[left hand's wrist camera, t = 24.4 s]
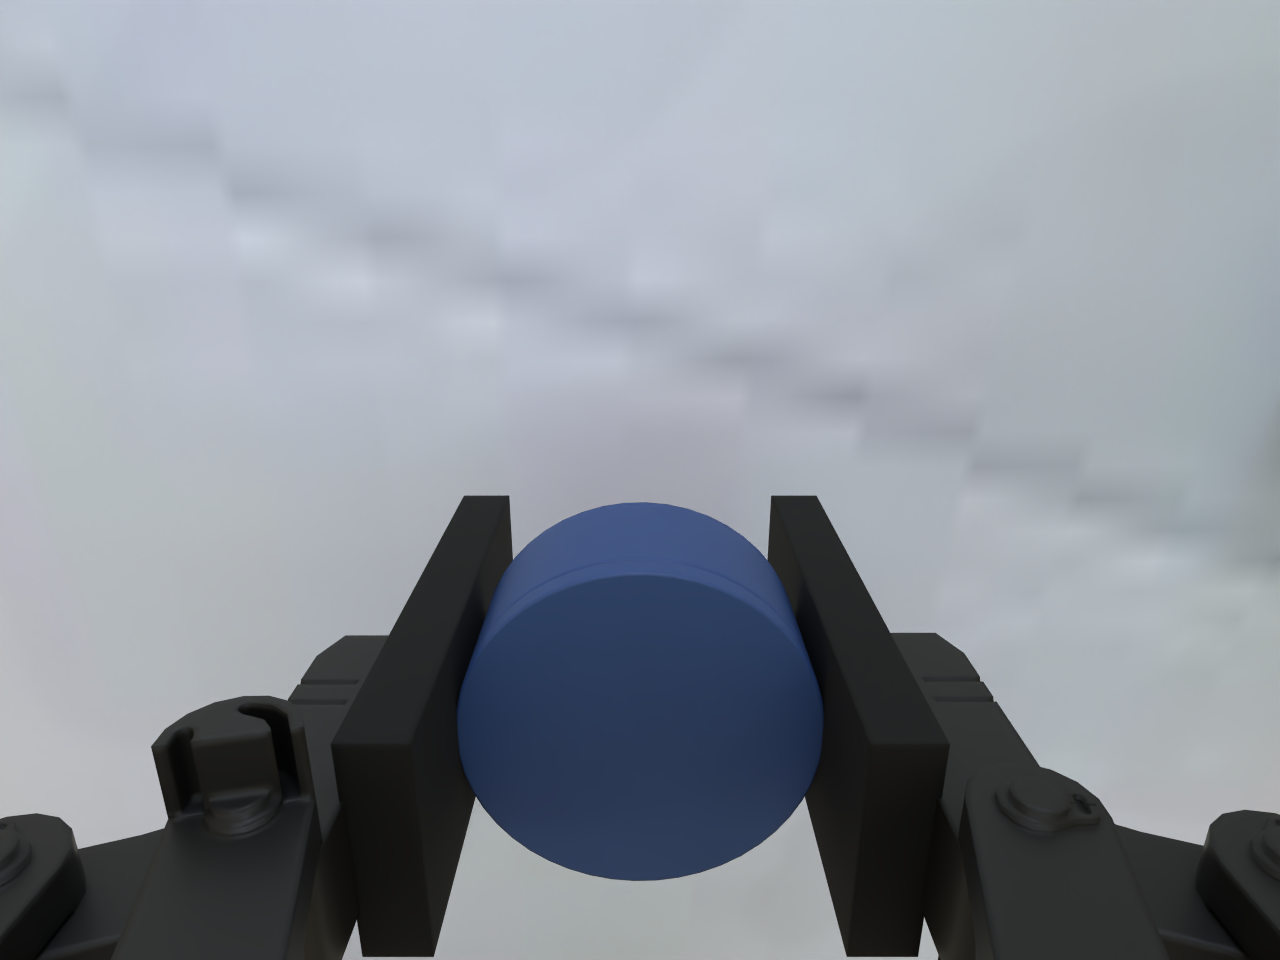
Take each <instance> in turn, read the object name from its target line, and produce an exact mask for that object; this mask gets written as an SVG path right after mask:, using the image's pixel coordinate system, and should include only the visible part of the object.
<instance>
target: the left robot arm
mask: <svg viewBox="0 0 1280 960" xmlns="http://www.w3.org/2000/svg"><path fill="white" fill-rule="evenodd" d="M512 561H513V554H512V537H511V519H510V502H509V496H464V497H463V499H462V501H461V503H460V504H459V506H458V508H457V510H456V512H455V514H454V516H453V517H452V519H451V521H450V523H449V525H448V527H447V529H446V530H445V532H444V534H443V536H442V538H441V540H440V542H439V543H438V545H437V547H436V549H435V551H434V553H433V555H432V556H431V558H430V560H429V562H428V564H427V566H426V568H425V569H424V571H423V573H422V575H421V577H420V579H419V581H418V582H417V584H416V586H415V588H414V590H413V592H412V594H411V595H410V597H409V599H408V601H407V603H406V605H405V607H404V608H403V610H402V612H401V614H400V616H399V618H398V620H397V622H396V623H395V625H394V627H393V629H392V631H391V633H390V635H389V636H344V637H343V638H341V639H340V640H339V641H337V642H336V643H334V644H333V645H332V646H330V647H329V648H327V649H326V650H325V651H323V652H322V653H320V654H319V655H318V656H316V658H315V660H314V661H313V663H312V664H311V666H310V667H309V669H308V670H307V672H306V673H305V675H304V676H303V678H302V679H301V685H297V687H296V688H295V690H294V691H293V693H292V694H291V696H290V697H289V699H288V701H287V700H283V699H279V698H275V697H272V696H242V697H238V698H233V699H228V700H224V701H219V702H215V703H212V704H210V705H208V706H205V707H203V708H200V709H198V710H196V711H193V712H191V713H188V714H187V715H185V716H184V717H182V718H181V719H179V720H178V721H176V722H175V723H173V724H172V725H171V726H169V727H168V728H166V729H165V730H164V731H163V733H162V734H161V735H160V736H159V737H158V739H157V740H156V741H155V742H154V744H153V745H152V746H151V748H152V752H153V756H154V761H155V765H156V769H157V773H158V777H159V782H160V786H161V790H162V794H163V798H164V802H165V807H166V811H167V815H168V821H167V823H166V826H165V828H164V829H160V830H157V831H154V832H150V833H147V834H143V835H140V836H135V837H131V838H126V839H122V840H117V841H113V842H108V843H104V844H100V845H95V846H91V847H86V848H82V849H78V848H77V845H76V842H75V838H74V835H73V831H72V828H70V827H69V826H68V825H67V824H66V823H65V822H64V821H63V820H62V819H60V818H59V817H54V816H48V815H43V814H37V813H36V814H27V815H19V816H10V817H5V818H2V819H0V960H342V957H343V955H344V952H345V949H346V947H347V944H348V942H349V939H350V936H351V934H352V931H353V928H354V926H355V923H356V920H357V923H358V929H359V936H360V943H361V949H362V956H363V957H434V954H435V950H436V946H437V942H438V938H439V934H440V931H441V927H442V923H443V919H444V915H445V911H446V908H447V904H448V900H449V896H450V892H451V889H452V885H453V881H454V877H455V873H456V869H457V866H458V862H459V858H460V854H461V850H462V847H463V843H464V839H465V835H466V831H467V827H468V824H469V820H470V816H471V812H472V808H473V805H474V801H475V797H476V795H475V794H474V792H473V791H472V789H471V786H470V784H469V782H468V780H467V778H466V775H465V773H464V770H463V767H462V763H461V760H460V753H459V742H458V730H457V716H456V709H457V704H458V699H459V694H460V690H461V687H462V684H463V681H464V678H465V675H466V672H467V669H468V666H469V663H470V661H471V658H472V655H473V652H474V649H475V646H476V643H477V640H478V637H479V634H480V632H481V629H482V626H483V623H484V620H485V617H486V614H487V611H488V608H489V605H490V603H491V600H492V597H493V594H494V591H495V589H496V587H497V585H498V583H499V581H500V579H501V578H502V576H503V574H504V572H505V571H506V569H507V568H508V567H509V565H510V564H511V563H512ZM768 562H769V563H770V564H771V566H772V567H773V569H774V570H775V572H776V574H777V575H778V577H779V578H780V580H781V582H782V584H783V586H784V589H785V591H786V593H787V595H788V598H789V601H790V603H791V606H792V609H793V612H794V615H795V618H796V621H797V624H798V627H799V630H800V632H801V635H802V638H803V641H804V644H805V647H806V650H807V653H808V656H809V659H810V661H811V664H812V668H813V670H814V673H815V676H816V679H817V682H818V685H819V689H820V693H821V697H822V700H823V708H824V725H823V737H822V748H821V757H820V763H819V765H818V768H817V771H816V773H815V776H814V779H813V781H812V784H811V785H810V787H809V789H808V791H807V793H806V794H805V799H806V803H807V806H808V810H809V814H810V818H811V822H812V825H813V829H814V833H815V837H816V841H817V845H818V848H819V852H820V856H821V860H822V864H823V868H824V871H825V875H826V879H827V883H828V887H829V890H830V894H831V898H832V902H833V906H834V910H835V913H836V917H837V921H838V925H839V929H840V932H841V936H842V940H843V944H844V948H845V952H846V955H847V957H918V953H919V946H920V940H921V933H922V926H923V920H924V917H925V920H926V923H927V925H928V928H929V931H930V933H931V936H932V938H933V941H934V944H935V946H936V949H937V952H938V954H939V956H938V960H1280V815H1279V814H1276V813H1268V812H1260V811H1251V810H1241V811H1236V812H1230V813H1225V814H1222V815H1221V816H1220V817H1218V818H1217V819H1216V820H1215V821H1214V822H1213V823H1212V824H1211V825H1210V827H1209V830H1208V834H1207V837H1206V840H1205V844H1204V846H1202V845H1197V844H1193V843H1188V842H1184V841H1179V840H1175V839H1170V838H1166V837H1161V836H1157V835H1152V834H1148V833H1143V832H1139V831H1136V830H1132V829H1129V828H1126V827H1122V826H1119V825H1116V824H1114V822H1113V820H1112V817H1111V816H1110V814H1109V813H1108V812H1107V810H1106V809H1105V807H1104V806H1103V804H1102V803H1101V801H1100V800H1099V799H1098V798H1097V797H1096V796H1094V795H1093V794H1092V793H1091V792H1089V791H1088V790H1087V789H1085V788H1084V787H1083V786H1082V785H1080V784H1079V783H1078V782H1076V781H1074V780H1072V779H1070V778H1068V777H1065V776H1063V775H1061V774H1059V773H1057V772H1055V771H1053V770H1050V769H1046V768H1042V767H1040V766H1039V765H1038V763H1037V762H1036V760H1035V759H1034V757H1033V756H1032V754H1031V753H1030V751H1029V750H1028V748H1027V747H1026V745H1025V744H1024V742H1023V741H1022V739H1021V738H1020V736H1019V735H1018V733H1017V732H1016V730H1015V729H1014V727H1013V726H1012V724H1011V723H1010V721H1009V720H1008V718H1007V717H1006V715H1005V714H1004V712H1003V711H1002V709H1001V708H1000V706H999V705H998V703H997V702H994V701H993V696H992V694H991V693H990V691H989V690H988V688H987V687H986V685H985V684H984V682H980V676H979V675H978V673H977V672H976V670H975V669H974V667H973V666H972V664H971V663H970V661H969V660H968V658H967V657H966V655H965V654H964V653H963V652H962V651H960V650H959V649H957V648H956V647H955V646H953V645H952V644H950V643H949V642H948V641H946V640H945V639H943V638H942V637H940V636H939V635H938V634H936V633H890V632H889V630H888V628H887V626H886V624H885V622H884V620H883V619H882V617H881V615H880V613H879V611H878V609H877V607H876V606H875V604H874V602H873V600H872V598H871V596H870V594H869V593H868V591H867V589H866V587H865V585H864V583H863V581H862V580H861V578H860V576H859V574H858V572H857V570H856V568H855V567H854V565H853V563H852V561H851V559H850V557H849V555H848V554H847V552H846V550H845V548H844V546H843V544H842V542H841V541H840V539H839V537H838V535H837V533H836V531H835V529H834V528H833V526H832V524H831V522H830V520H829V518H828V516H827V515H826V513H825V511H824V509H823V507H822V505H821V503H820V502H819V500H818V498H817V496H771V511H770V528H769V546H768Z"/></svg>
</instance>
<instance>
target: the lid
mask: <svg viewBox="0 0 1280 960" xmlns="http://www.w3.org/2000/svg"><path fill="white" fill-rule="evenodd" d="M456 716H457V730H458V742H459V753H460V760H461V763H462V767H463V770H464V773H465V775H466V778H467V780H468V782H469V784H470V786H471V789H472V791H473V792H474V794H475V795H476V797H477V799H478V800H479V802H480V803H481V805H482V806H483V808H484V809H485V810H486V811H487V813H488V814H489V815H490V816H491V817H492V819H493V820H494V821H495V822H496V823H497V824H498V825H499V826H500V827H501V828H502V829H503V830H504V831H505V832H507V833H508V834H509V835H510V836H511V837H512V838H513V839H515V840H516V841H518V842H519V843H520V844H522V845H523V846H525V847H526V848H527V849H529V850H530V851H532V852H534V853H536V854H538V855H539V856H541V857H543V858H545V859H547V860H549V861H551V862H553V863H556V864H558V865H561V866H563V867H565V868H568V869H571V870H574V871H578V872H581V873H585V874H588V875H592V876H598V877H603V878H609V879H617V880H630V881H648V880H663V879H671V878H679V877H683V876H687V875H692V874H696V873H700V872H703V871H706V870H709V869H712V868H715V867H718V866H721V865H723V864H725V863H727V862H729V861H731V860H733V859H735V858H738V857H740V856H742V855H743V854H745V853H746V852H748V851H750V850H751V849H753V848H754V847H756V846H758V845H759V844H760V843H762V842H763V841H764V840H765V839H767V838H768V837H769V836H770V835H772V834H773V833H774V832H775V831H776V830H777V829H778V828H779V827H780V826H781V825H782V824H783V823H784V822H785V821H786V820H787V819H788V818H789V817H790V816H791V815H792V813H793V812H794V811H795V809H796V808H797V807H798V805H799V804H800V803H801V801H802V800H803V798H804V796H805V794H806V793H807V791H808V789H809V787H810V785H811V784H812V781H813V779H814V776H815V773H816V771H817V768H818V765H819V763H820V757H821V748H822V737H823V725H824V708H823V700H822V697H821V693H820V689H819V685H818V682H817V679H816V676H815V673H814V670H813V668H812V664H811V661H810V659H809V656H808V653H807V650H806V647H805V644H804V641H803V638H802V635H801V632H800V630H799V627H798V624H797V621H796V618H795V615H794V612H793V609H792V606H791V603H790V601H789V598H788V595H787V593H786V591H785V589H784V586H783V584H782V582H781V580H780V578H779V577H778V575H777V574H776V572H775V570H774V569H773V567H772V566H771V564H770V563H769V562H768V561H767V560H766V558H765V557H764V556H763V555H762V554H761V552H760V551H759V550H758V549H757V548H756V547H754V546H753V545H752V544H751V543H750V542H749V541H748V540H747V539H746V538H744V537H743V536H742V535H740V534H739V533H737V532H736V531H734V530H733V529H731V528H730V527H728V526H727V525H725V524H723V523H721V522H719V521H717V520H715V519H713V518H711V517H709V516H707V515H704V514H701V513H698V512H695V511H693V510H690V509H686V508H681V507H677V506H672V505H668V504H657V503H647V502H644V503H621V504H615V505H608V506H602V507H599V508H595V509H592V510H588V511H584V512H581V513H579V514H577V515H574V516H572V517H570V518H567V519H565V520H563V521H561V522H559V523H557V524H556V525H554V526H552V527H551V528H549V529H547V530H545V531H544V532H543V533H542V534H540V535H539V536H538V537H536V538H535V539H534V540H533V541H531V542H530V543H529V544H528V545H527V546H526V547H525V548H524V549H523V550H522V551H521V552H520V553H519V554H518V555H517V556H516V557H515V558H514V560H513V561H512V563H511V564H510V565H509V567H508V568H507V569H506V571H505V572H504V574H503V576H502V578H501V579H500V581H499V583H498V585H497V587H496V589H495V591H494V594H493V597H492V600H491V603H490V605H489V608H488V611H487V614H486V617H485V620H484V623H483V626H482V629H481V632H480V634H479V637H478V640H477V643H476V646H475V649H474V652H473V655H472V658H471V661H470V663H469V666H468V669H467V672H466V675H465V678H464V681H463V684H462V687H461V690H460V694H459V699H458V704H457V709H456Z"/></svg>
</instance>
